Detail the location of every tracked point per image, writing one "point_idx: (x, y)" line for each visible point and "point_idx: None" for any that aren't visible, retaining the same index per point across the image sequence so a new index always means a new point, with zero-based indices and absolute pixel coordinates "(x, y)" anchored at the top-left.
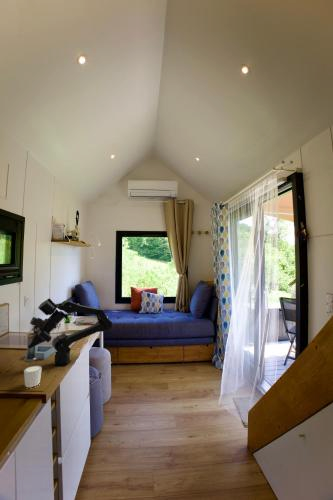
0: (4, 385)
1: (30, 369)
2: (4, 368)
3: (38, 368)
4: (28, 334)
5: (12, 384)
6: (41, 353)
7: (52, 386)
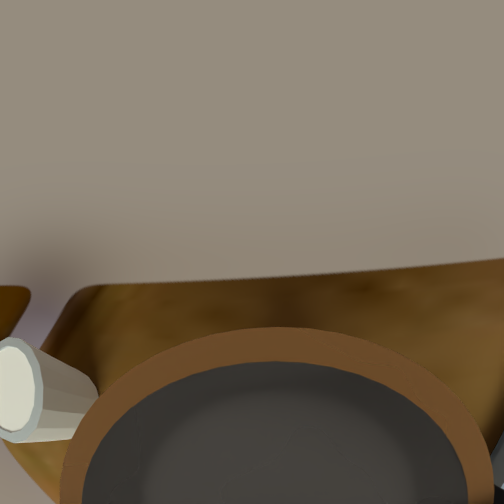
0: (152, 282)
1: (11, 375)
2: (420, 266)
3: (2, 418)
4: (261, 404)
5: (138, 318)
6: None
7: (24, 465)
